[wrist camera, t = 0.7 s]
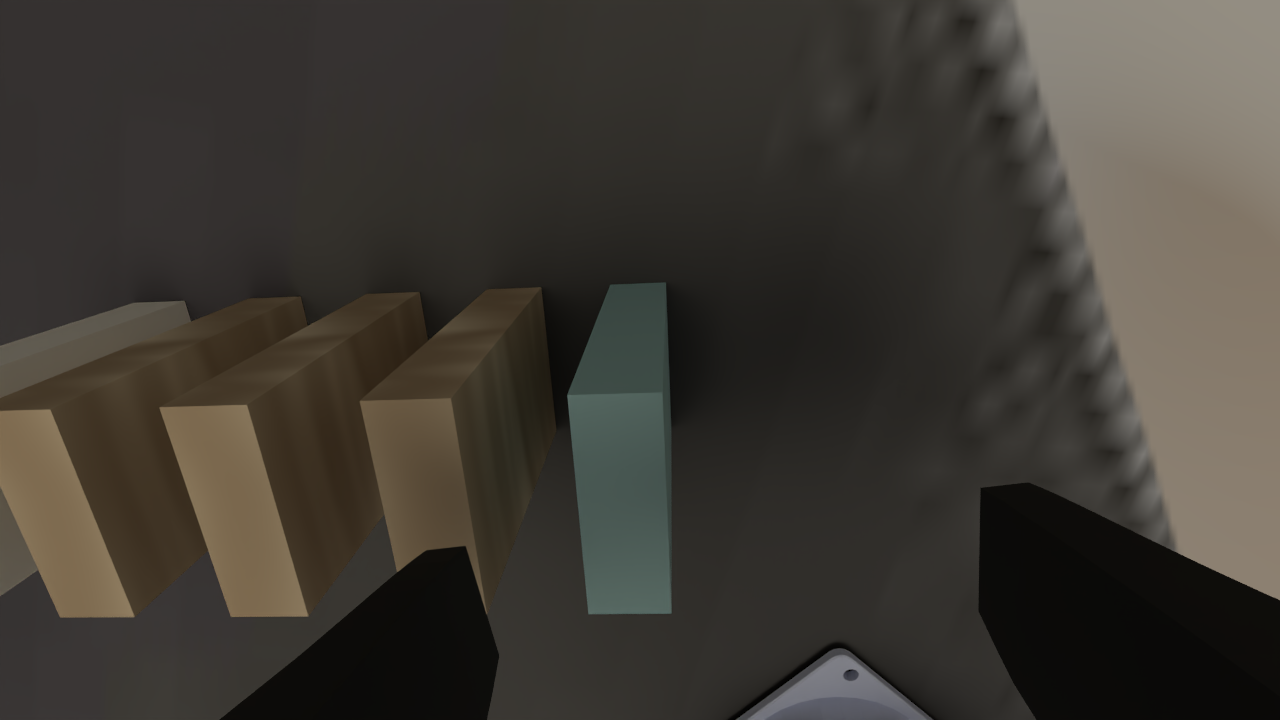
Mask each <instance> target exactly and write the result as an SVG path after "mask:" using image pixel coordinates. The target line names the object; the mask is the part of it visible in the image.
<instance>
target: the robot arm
mask: <svg viewBox="0 0 1280 720" xmlns="http://www.w3.org/2000/svg"><path fill="white" fill-rule="evenodd" d="M979 613H980V615H981V617H982V619H983V621H984V623H985V626H986V628H987V630H988V632H989V634H990V636H991V638H992V640H993V642H994V645H995V647H996V649H997V651H998V653H999V655H1000V657H1001V659H1002V661H1003V663H1004V665H1005V667H1006V669H1007V671H1008V673H1009V675H1010V677H1011V679H1012V681H1013V683H1014V685H1015V686H1016V688H1017V689H1018V691H1019V693H1020V694H1021V696H1022V697H1023V699H1024V701H1025V702H1026V704H1027V705H1028V707H1029V709H1030V710H1031V712H1032V713H1033V715H1034V716H1035V718H1036V720H1280V600H1278V599H1276V598H1273V597H1271V596H1269V595H1267V594H1264V593H1262V592H1260V591H1258V590H1255V589H1253V588H1251V587H1249V586H1247V585H1245V584H1242V583H1240V582H1238V581H1236V580H1234V579H1231V578H1229V577H1227V576H1225V575H1223V574H1220V573H1219V572H1216V571H1214V570H1212V569H1210V568H1208V567H1206V566H1204V565H1201V564H1199V563H1197V562H1195V561H1193V560H1191V559H1189V558H1187V557H1185V556H1183V555H1180V554H1178V553H1176V552H1174V551H1172V550H1170V549H1168V548H1166V547H1164V546H1162V545H1160V544H1158V543H1156V542H1153V541H1151V540H1149V539H1147V538H1145V537H1143V536H1141V535H1139V534H1137V533H1135V532H1133V531H1131V530H1129V529H1127V528H1125V527H1123V526H1121V525H1119V524H1117V523H1115V522H1113V521H1110V520H1108V519H1106V518H1104V517H1102V516H1100V515H1098V514H1096V513H1094V512H1092V511H1090V510H1088V509H1086V508H1084V507H1082V506H1080V505H1078V504H1076V503H1073V502H1071V501H1069V500H1067V499H1065V498H1063V497H1061V496H1059V495H1056V494H1054V493H1052V492H1050V491H1048V490H1045V489H1043V488H1041V487H1038V486H1036V485H1033V484H1031V483H1021V484H1012V485H1003V486H994V487H985V488H981V500H980V556H979ZM498 659H499V653H498V650H497V647H496V643H495V640H494V637H493V634H492V630H491V627H490V624H489V621H488V617H487V614H486V611H485V607H484V604H483V601H482V598H481V594H480V591H479V588H478V584H477V581H476V578H475V575H474V571H473V568H472V565H471V561H470V558H469V555H468V552H467V548H466V546H459V547H450V548H441V549H432V550H426V551H424V552H423V553H422V554H420V555H419V556H417V557H416V558H415V559H413V560H412V561H411V562H410V563H408V564H407V565H406V566H405V567H403V568H402V569H401V570H400V571H398V572H397V573H396V574H395V575H394V576H392V577H391V578H390V579H389V580H388V581H386V582H385V583H384V584H383V585H382V586H381V587H379V588H378V589H377V590H376V591H375V592H374V593H372V594H371V595H370V596H369V597H368V598H367V599H365V600H364V601H363V602H362V603H361V604H360V605H358V606H357V607H356V608H355V609H354V610H353V611H351V612H350V613H349V614H348V615H347V616H346V617H344V618H343V619H342V620H341V621H340V622H339V623H337V624H336V625H335V626H334V627H333V628H332V629H330V630H329V631H328V632H327V633H326V634H324V635H323V636H322V637H321V638H320V639H319V640H317V641H316V642H315V643H314V644H313V645H312V646H310V647H309V648H308V649H307V650H306V651H304V652H303V653H302V654H301V655H300V656H298V657H297V658H296V659H295V660H294V661H292V662H291V663H290V664H289V665H287V666H286V667H285V668H284V669H282V670H281V671H280V672H279V673H277V674H276V675H275V676H274V677H272V678H271V679H270V680H269V681H267V682H266V683H265V684H264V685H262V686H261V687H260V688H259V689H257V690H256V691H255V692H254V693H252V694H251V695H250V696H249V697H247V698H246V699H245V700H244V701H242V702H241V703H240V704H239V705H237V706H236V707H235V708H234V709H232V710H231V711H230V712H229V713H227V714H226V715H225V716H224V717H222V718H221V719H220V720H487V716H488V711H489V707H490V702H491V697H492V692H493V687H494V681H495V676H496V670H497V665H498ZM849 669H854V670H852V671H850V672H845V671H847V670H849ZM736 720H933V719H932V718H931V717H929V716H928V715H927V714H926V713H924V712H923V711H922V710H921V709H920V708H918V707H917V706H916V705H915V704H913V703H912V702H911V701H910V700H909V699H907V698H906V697H905V696H904V695H902V694H901V693H900V692H899V691H897V690H896V689H895V688H894V687H893V686H891V685H890V684H889V683H888V682H886V681H885V680H884V679H883V678H882V677H880V676H879V675H878V674H877V673H875V672H874V671H873V670H872V669H870V668H869V667H868V666H867V665H866V664H864V663H863V662H862V661H861V660H859V659H858V658H857V657H856V656H855V655H853V654H852V653H851V652H850V651H848V650H846V649H841V648H837V649H833V650H831V651H829V652H828V653H826V654H825V655H824V656H822V657H821V658H819V659H818V660H817V661H815V662H814V663H813V664H811V665H810V666H808V667H807V668H806V669H804V670H803V671H802V672H800V673H799V674H798V675H796V676H795V677H793V678H792V679H791V680H789V681H788V682H787V683H785V684H784V685H783V686H781V687H780V688H778V689H777V690H776V691H774V692H773V693H772V694H770V695H769V696H767V697H766V698H765V699H763V700H762V701H761V702H759V703H758V704H757V705H755V706H754V707H752V708H751V709H750V710H748V711H747V712H746V713H744V714H743V715H741V716H740V717H739V718H737V719H736Z"/></svg>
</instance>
